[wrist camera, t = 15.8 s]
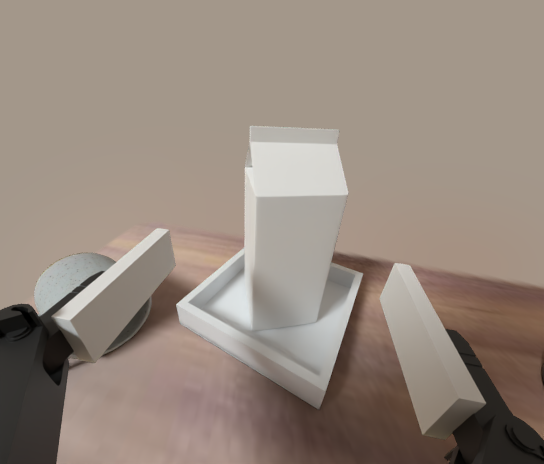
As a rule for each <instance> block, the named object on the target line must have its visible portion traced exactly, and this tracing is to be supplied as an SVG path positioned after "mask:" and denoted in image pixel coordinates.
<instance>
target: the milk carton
mask: <svg viewBox="0 0 544 464" xmlns="http://www.w3.org/2000/svg"><path fill="white" fill-rule="evenodd" d="M338 136H339V130H334V129H333V130H332V129H310V128H288V127H265V126H250V142H249V148H248V153H247V158H246V163H245V289H246V296H247V302H248V309H249V316H250V322H251V329H252V331H260V330H267V329H274V328H281V327H288V326H295V325H302V324H309V323H315V322H316V321H317V318H318V314H319V310H320V306H321V302H322V298H323V294H324V289H325V285H326V281H327V277H328V273H329V269H330V265H331V261H332V257H333V253H334V249H335V245H336V241H337V237H338V233H339V229H340V225H341V221H342V217H343V213H344V209H345V205H346V201H347V197H348V189H347V185H346V181H345V176H344V172H343V169H342V164H341V159H340V155H339V151H338V147H337V141H338Z"/></svg>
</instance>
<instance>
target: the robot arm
mask: <svg viewBox="0 0 544 464" xmlns="http://www.w3.org/2000/svg"><path fill="white" fill-rule="evenodd" d="M175 266H176V263H175V258H174V253H173V248H172V243H171V237H170V232H169V230H166V229H160V228H157V229H156V230H154V231H153V232H152V233H151V234H150V235H148V236H147V237H146V238H145V239H144V240H142V241H141V242H140V243H139V244H138V245H136V246H135V247H134V248H133V249H132V250H130V251H129V252H128V253H127V254H126V255H124V256H123V257H122V258H121V259H120V260H119V261H117V262H116V263H115V264H114V265H113V266H111V267H110V268H109V269H108V270H107V271H100V272H98V273H96V274H94V275H92V276H90V277H89V278H87V279H86V280H85V281H84V282H82V283H81V284H80V286H77V287H76V288H75V289H74V290H72V292H71V293H69V294H67V295H66V296H65V297H64V298H62V299H61V300H60V301H59V302H57V303H56V304H55V305H54V306H52V307H51V308H50V309H49V310H47V311H46V312H45V313H44V314H42V315H41V316H40V317H39V316H38V315H37V313H36V312H35V310H34V309H33V307H32V306H30V305H29V304H18V305H12V306H10V307H7V308H4V309H2V310H0V464H56V461H57V453H58V445H59V438H60V430H61V422H62V415H63V407H64V399H65V392H66V384H67V376H68V369H69V361H68V359H67V358H68V357H69V356H70V355H71V354H72V353H73V352H74V353H75V355H76V356H77V358H78V359H79V360H82V361H86V362H91V363H96V362H97V360H98V359H99V358H100V357H101V356H102V354H103V353H104V352H105V351H106V350H107V348H108V347H109V346H110V345H111V343H112V342H113V341H114V340H115V339H116V337H117V336H118V335H119V334H120V333H121V331H122V330H123V329H124V328H125V326H126V325H127V324H128V323H129V322H130V320H131V319H132V318H133V317H134V316H135V314H136V313H137V312H138V311H139V310H140V308H141V307H142V306H143V305H144V303H145V302H146V301H147V300H148V299H149V297H150V296H151V295H152V294H153V293H154V291H155V290H156V289H157V288H158V286H159V285H160V284H161V283H162V282H163V280H164V279H165V278H166V277H167V276H168V274H169V273H170V272H171V271H172V270H173V268H174V267H175ZM380 302H381V305H382V308H383V311H384V314H385V318H386V321H387V324H388V327H389V330H390V334H391V337H392V340H393V343H394V346H395V350H396V353H397V356H398V359H399V362H400V365H401V369H402V372H403V375H404V378H405V381H406V385H407V388H408V391H409V394H410V397H411V400H412V404H413V407H414V410H415V413H416V416H417V420H418V423H419V426H420V429H421V432H422V435H425V436H429V437H434V438H438V439H443V440H445V439H446V438H448V437H449V436H450V435H451V434H452V433H453V435H454V437H455V440H456V442H457V444H458V445H457V446H456V447H455V448H454V449H452V450H451V451H450V452H448V453H447V454H446V456H445V457H444V458H445V459H446V460H447V461H448V460H449V459H450V458H451V459H450V462H449V464H544V440H543V439H542V438H541V437H540V436H539V435H538V433H537V432H536V431H535V430H534V429H532V428H531V427H530V426H529V425H528V424H526V423H525V422H524V421H522V420H520V419H519V418H517V417H515V416H513V414H512V413H511V412H510V410H509V409H508V407H507V405H506V404H505V402H504V400H503V399H502V397H501V396H500V394H499V392H498V391H497V389H496V387H495V386H494V384H493V383H492V381H491V379H490V378H489V376H488V374H487V373H486V371H485V370H484V369H483V368H482V365H481V363H480V361H479V360H478V358H476V355H475V353H474V352H473V350H472V348H471V347H470V345H469V344H468V342H467V341H466V340H465V339H464V338H463V337H462V336H461V335H460V334H459V333H458V332H457V331H454V330H448V329H445V328H444V326H443V324H442V323H441V321H440V319H439V317H438V315H437V314H436V312H435V310H434V308H433V306H432V305H431V303H430V301H429V299H428V297H427V296H426V294H425V292H424V290H423V288H422V287H421V285H420V283H419V281H418V279H417V277H416V276H415V274H414V272H413V270H412V268H411V267H410V265H406V264H399V263H395V264H394V266H393V268H392V271H391V273H390V275H389V278H388V280H387V282H386V285H385V287H384V289H383V292H382V294H381V296H380ZM542 376H543V381H544V364H543V368H542Z"/></svg>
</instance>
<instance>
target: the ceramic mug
mask: <svg viewBox="0 0 544 464" xmlns="http://www.w3.org/2000/svg"><path fill="white" fill-rule="evenodd" d="M115 263H116V262H115V261H114V260H113V259H111V258H109V257H106V256H103V255H100V254H96V253H78V254H74V255H69V256H67V257H65V258H62V259H60V260H58V261H57V262H55V263H53V264H51V265H50V266H49V267H48V268H47V269H46V270H45V271H44V272H43V273H42V275H41V276H40V278H39V279H38V281H37V283H36V287H35V293H34V299H35V304H36V307H37V309H38V312H39V313H40V314H38V316H39V317H40V316H41V315H42V314H44V313H45V312H46V311H47V310H49V309H50V308H51V307H52V306H54V305H55V304H56V303H57V302H59V301H60V300H61V299H62V298H64V297H65V296H66V295H67V294H69V293H71V292H72V290H74V289H75V288H76V287H77V286H80V284H81V283H82V282H84V281H85V280H86V279H87V278H89V277H90V276H92V275H94V274H96V273H98V272H100V271H107V270H108V269H109V268H110V267H111V266H113V265H114V264H115ZM151 305H152V297H151V296H150V297H149V299H148V300H147V301H146V302H145V303H144V305H143V306H142V307H141V308H140V310H139V311H138V312H137V313H136V314H135V316H134V317H133V318H132V319H131V320H130V322H129V323H128V324H127V325H126V326H125V328H124V329H123V330H122V331H121V333H120V334H119V335H118V336H117V337H116V339H115V340H114V341H113V342H112V343H111V345H110V346H109V347H108V348H107V350H106V351H105V352H104V353H103V354H102V355H104V354H106V353H108V352H110V351H112V350H114V349H116V348H118V347H119V346H121V345H122V344H124V343H125V342H127V341H128V340H129V339H130V338H132V337H133V336H134V335H135V334H136V333H137V332H138V330H139V329H140V328H141V327H142V325H143V324H144V322H145V321H146V319H147V317H148V315H149V313H150V309H151ZM69 358H73V359H78V358H77V356H76V355H75V353H74V352H73V353H72V354H71V355H70V356H69V357H68V358H67V359H69Z"/></svg>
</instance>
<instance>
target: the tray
mask: <svg viewBox="0 0 544 464" xmlns="http://www.w3.org/2000/svg"><path fill="white" fill-rule="evenodd" d="M362 276H363V273H360V272H358V271H355V270H352V269H349V268H346V267H343V266H341V265H338V264H335V263H332V262H331V265H330V269H329V273H328V277H327V281H326V285H325V289H324V294H323V298H322V302H321V306H320V310H319V314H318V318H317V321H316V322H315V323H309V324H302V325H295V326H288V327H281V328H274V329H267V330H260V331H252V329H251V322H250V316H249V309H248V302H247V296H246V289H245V247H244V248H243V249H242V250H241V251H239V252H238V253H237V254H236V255H235V256H233V257H232V258H231V259H230V260H229V261H227V262H226V263H225V264H224V265H223V266H221V267H220V268H219V269H218V270H217V271H215V272H214V273H213V274H212V275H211V276H209V277H208V278H207V279H206V280H205V281H203V282H202V283H201V284H200V285H199V286H197V287H196V288H195V289H194V290H193V291H191V292H190V293H189V294H188V295H187V296H185V297H184V298H183V299H182V300H181V301H179V302H178V303H177V304H176V307H177V311H178V316H179V321H180V324H181V325H183V326H184V327H186V328H188V329H189V330H191V331H193V332H194V333H196V334H197V335H199V336H201V337H202V338H204V339H205V340H207V341H209V342H210V343H212V344H213V345H215V346H217V347H218V348H220V349H222V350H223V351H225V352H226V353H228V354H230V355H231V356H233V357H234V358H236V359H238V360H239V361H241V362H242V363H244V364H246V365H247V366H249V367H251V368H252V369H254V370H255V371H257V372H259V373H260V374H262V375H263V376H265V377H267V378H268V379H270V380H271V381H273V382H275V383H276V384H278V385H279V386H281V387H283V388H284V389H286V390H288V391H289V392H291V393H292V394H294V395H296V396H297V397H299V398H300V399H302V400H304V401H305V402H307V403H308V404H310V405H312V406H313V407H315V408H317V409H318V410H319V409H320V406H321V403H322V400H323V398H324V395H325V392H326V389H327V386H328V383H329V380H330V377H331V373H332V370H333V367H334V364H335V361H336V358H337V355H338V351H339V348H340V345H341V342H342V339H343V336H344V332H345V329H346V326H347V323H348V320H349V317H350V314H351V310H352V307H353V304H354V301H355V298H356V295H357V291H358V288H359V285H360V282H361V279H362Z"/></svg>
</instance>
